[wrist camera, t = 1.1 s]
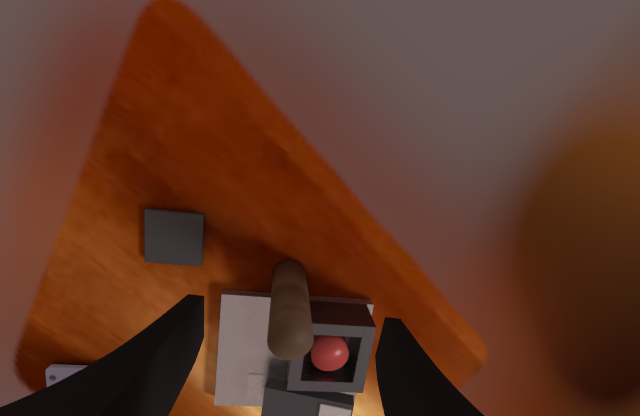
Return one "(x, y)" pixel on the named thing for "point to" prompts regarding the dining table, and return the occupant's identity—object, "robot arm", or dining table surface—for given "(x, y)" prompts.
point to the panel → (300, 374)
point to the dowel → (289, 312)
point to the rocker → (303, 401)
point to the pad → (174, 237)
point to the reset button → (329, 352)
